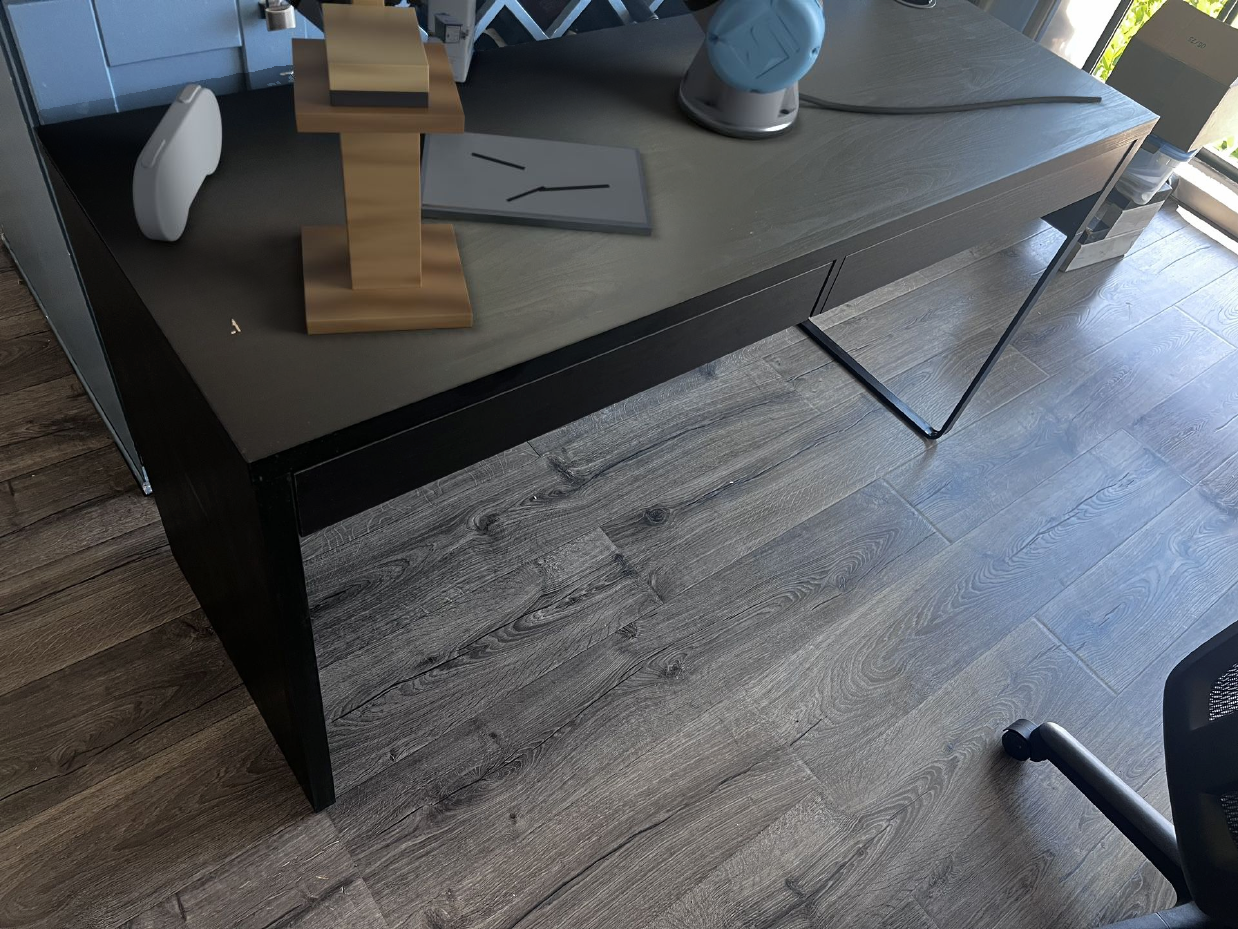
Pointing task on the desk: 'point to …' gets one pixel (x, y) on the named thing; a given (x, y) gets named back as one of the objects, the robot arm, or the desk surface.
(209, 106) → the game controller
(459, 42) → the ink box
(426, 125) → the shelf stand
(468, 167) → the whiteboard
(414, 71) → the eraser
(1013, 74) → the desk surface
